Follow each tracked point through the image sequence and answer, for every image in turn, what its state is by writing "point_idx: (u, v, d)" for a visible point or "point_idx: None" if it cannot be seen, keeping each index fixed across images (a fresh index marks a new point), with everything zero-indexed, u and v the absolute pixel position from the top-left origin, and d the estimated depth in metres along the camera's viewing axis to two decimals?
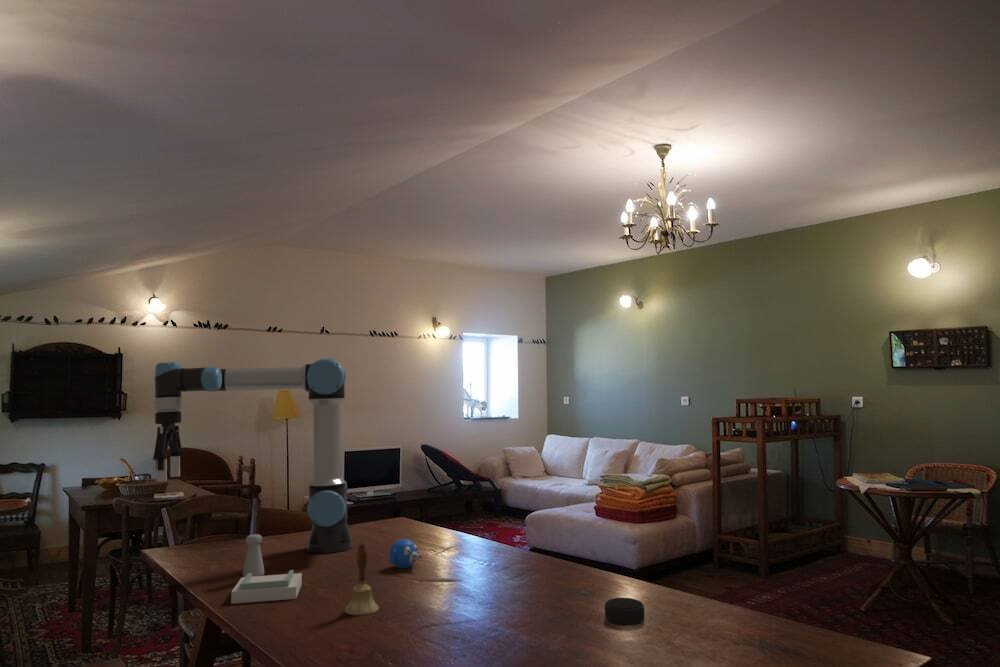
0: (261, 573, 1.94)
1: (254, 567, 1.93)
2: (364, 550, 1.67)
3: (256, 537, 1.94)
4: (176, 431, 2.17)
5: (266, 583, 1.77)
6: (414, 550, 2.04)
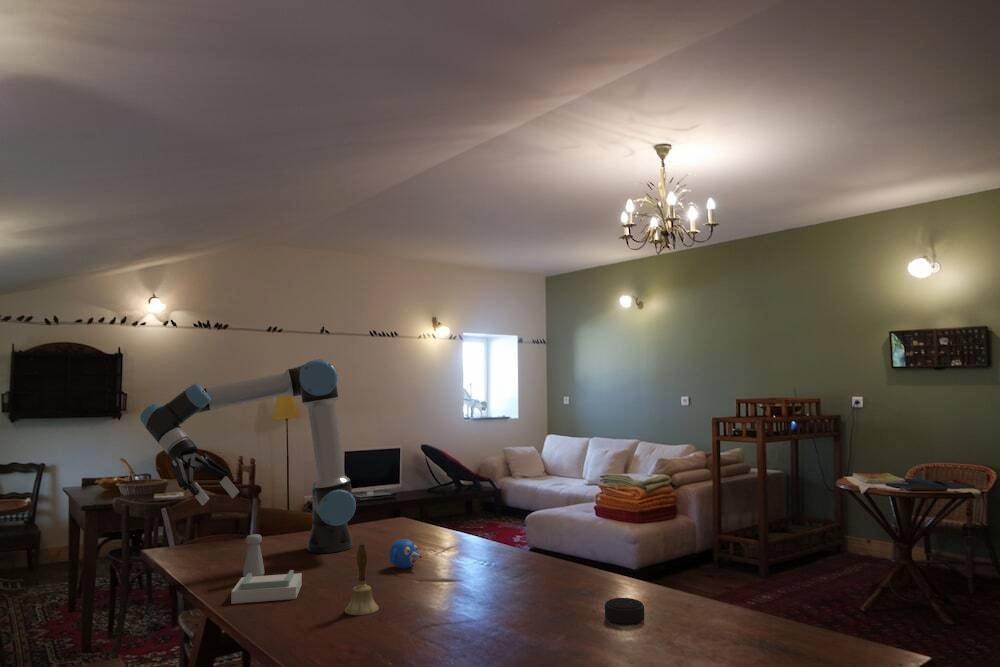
0: (261, 573, 1.94)
1: (254, 567, 1.93)
2: (364, 550, 1.67)
3: (256, 537, 1.94)
4: (199, 457, 2.04)
5: (266, 583, 1.77)
6: (414, 550, 2.04)
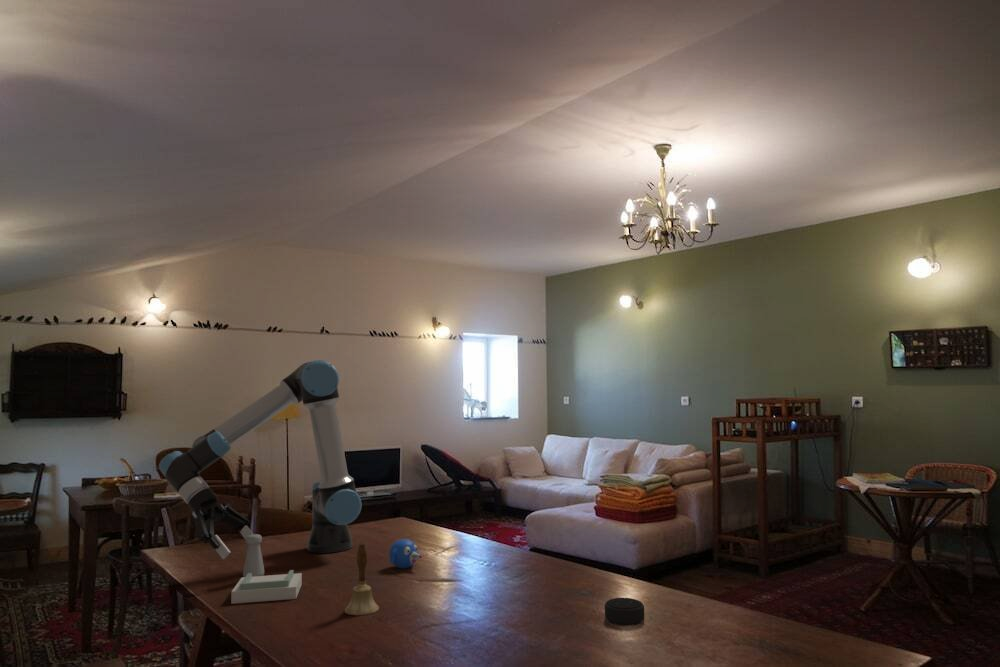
0: (261, 573, 1.94)
1: (254, 567, 1.93)
2: (364, 550, 1.67)
3: (256, 537, 1.94)
4: (219, 507, 2.00)
5: (266, 583, 1.77)
6: (414, 550, 2.04)
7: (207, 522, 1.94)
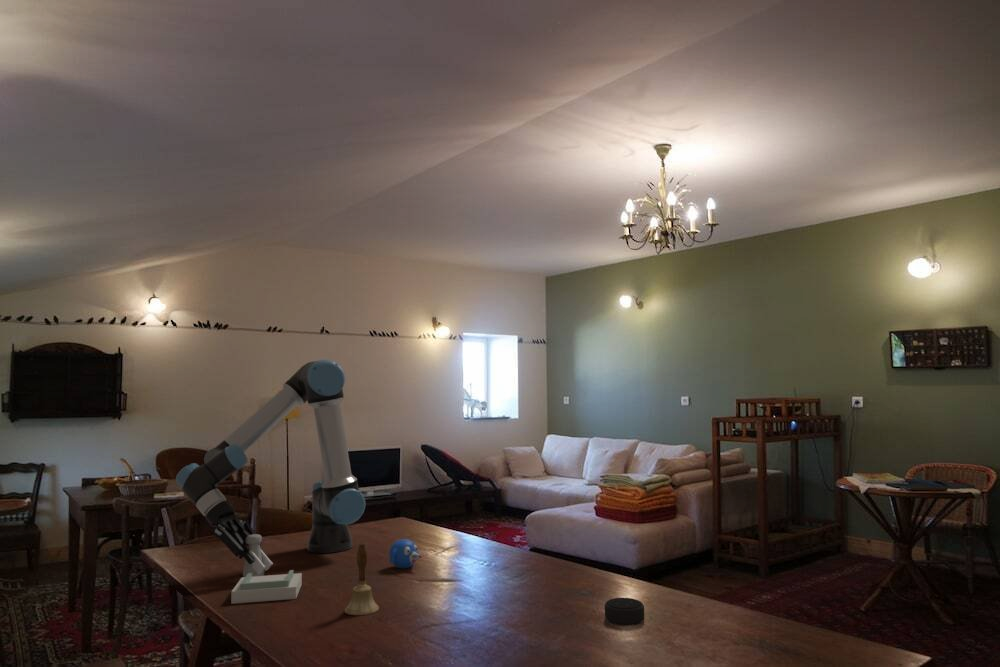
0: (261, 573, 1.94)
1: None
2: (364, 550, 1.67)
3: (256, 537, 1.94)
4: (237, 519, 1.99)
5: (266, 583, 1.77)
6: (414, 550, 2.04)
7: (233, 537, 1.95)
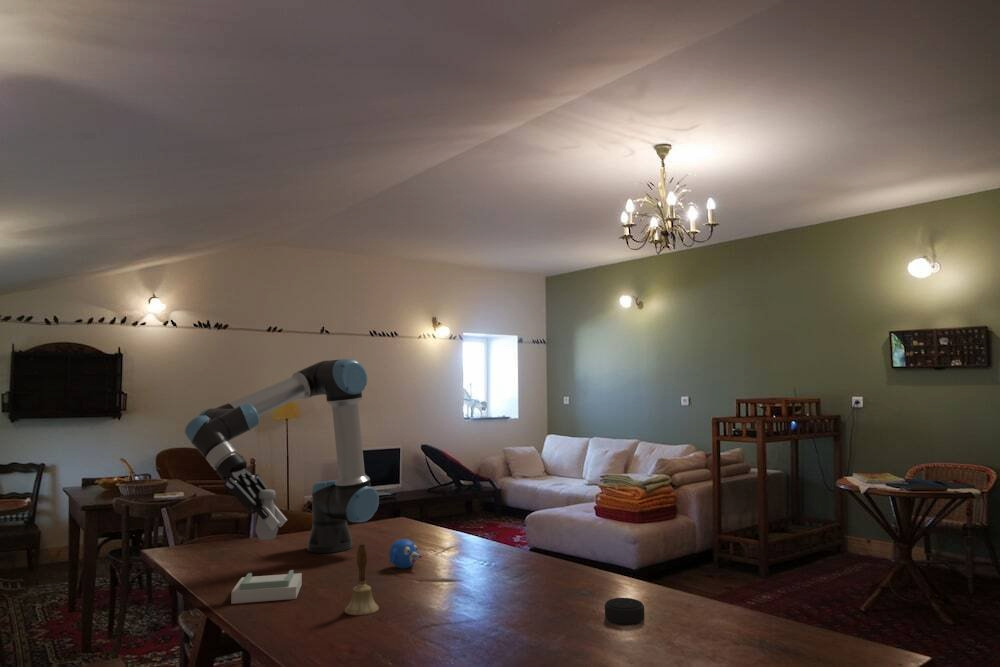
0: (275, 530, 1.83)
1: None
2: (364, 550, 1.67)
3: (270, 492, 1.83)
4: (249, 474, 1.88)
5: (266, 583, 1.77)
6: (414, 550, 2.04)
7: (245, 491, 1.83)
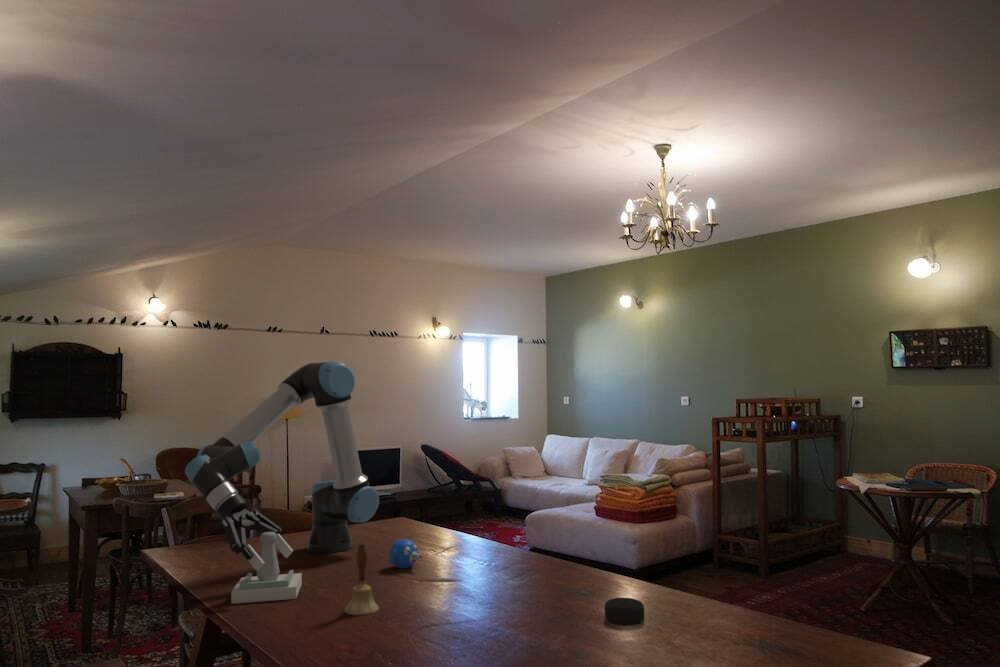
0: (276, 573, 1.82)
1: (269, 567, 1.81)
2: (364, 550, 1.67)
3: (271, 535, 1.82)
4: (250, 514, 1.87)
5: (266, 583, 1.77)
6: (414, 550, 2.04)
7: (238, 531, 1.81)
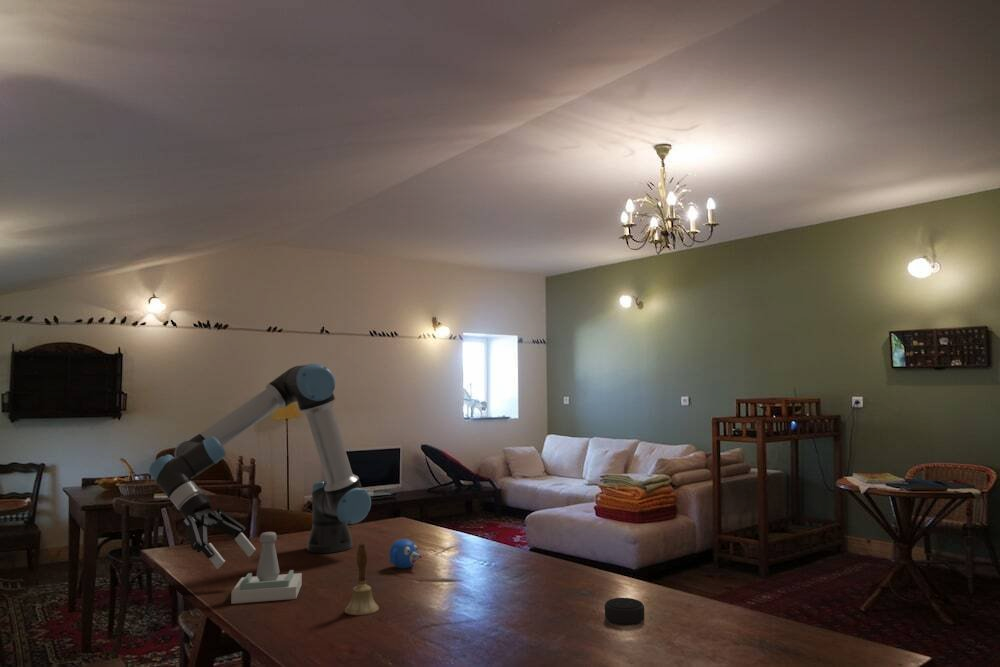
0: (276, 573, 1.82)
1: (269, 567, 1.81)
2: (364, 550, 1.67)
3: (271, 535, 1.82)
4: (213, 513, 1.90)
5: (266, 583, 1.77)
6: (414, 550, 2.04)
7: (200, 530, 1.84)
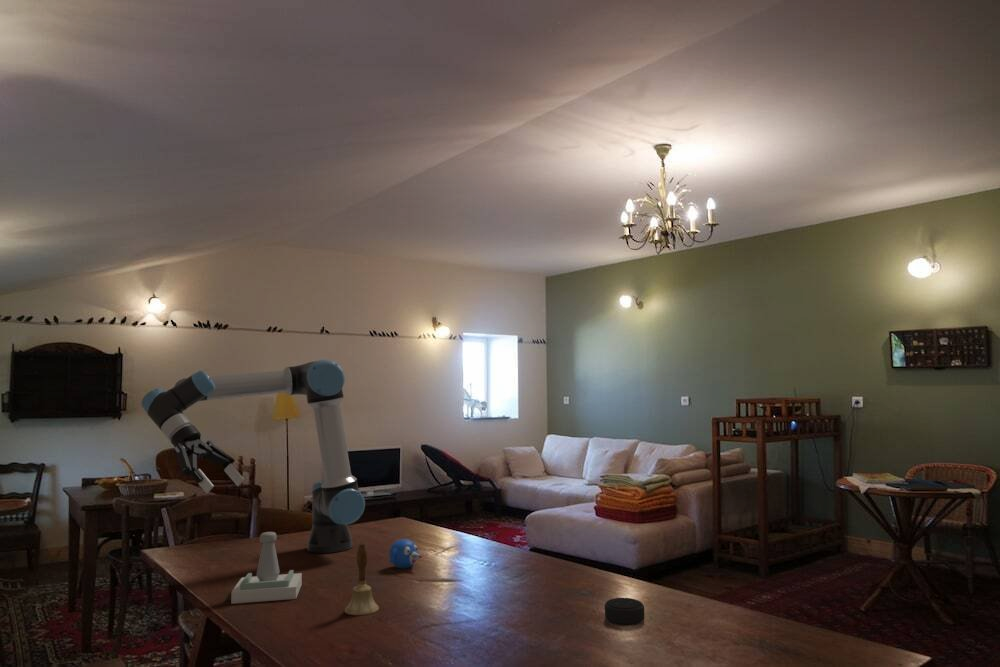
0: (276, 573, 1.82)
1: (269, 567, 1.81)
2: (364, 550, 1.67)
3: (271, 535, 1.82)
4: (203, 444, 1.97)
5: (266, 583, 1.77)
6: (414, 550, 2.04)
7: (190, 457, 1.90)
